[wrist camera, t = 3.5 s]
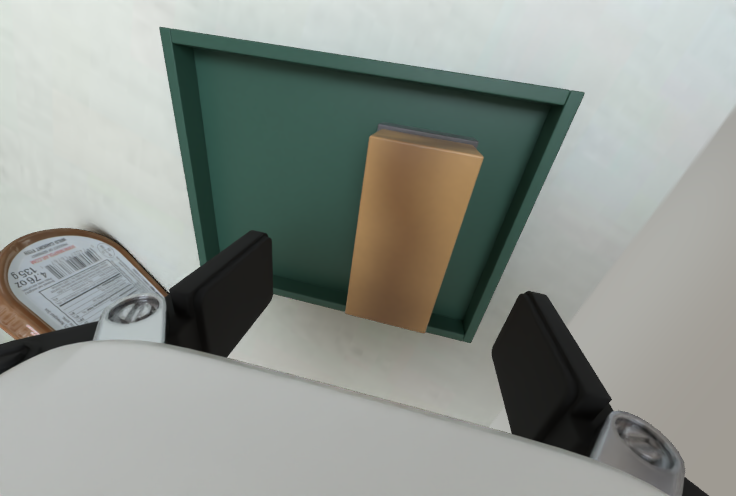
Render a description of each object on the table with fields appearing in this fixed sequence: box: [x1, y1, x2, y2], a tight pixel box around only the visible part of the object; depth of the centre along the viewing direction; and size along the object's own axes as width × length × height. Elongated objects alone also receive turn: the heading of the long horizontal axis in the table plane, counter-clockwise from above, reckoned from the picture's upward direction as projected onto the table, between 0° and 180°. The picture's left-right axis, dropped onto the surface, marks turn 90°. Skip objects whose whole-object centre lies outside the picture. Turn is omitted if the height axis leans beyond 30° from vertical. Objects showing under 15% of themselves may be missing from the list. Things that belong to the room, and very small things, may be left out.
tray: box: [159, 27, 584, 343], centre depth 18 cm, size 20×15×2 cm
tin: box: [0, 228, 168, 340], centre depth 22 cm, size 15×3×8 cm, turn 32°
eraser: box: [345, 122, 484, 333], centre depth 15 cm, size 5×10×5 cm, turn 172°
